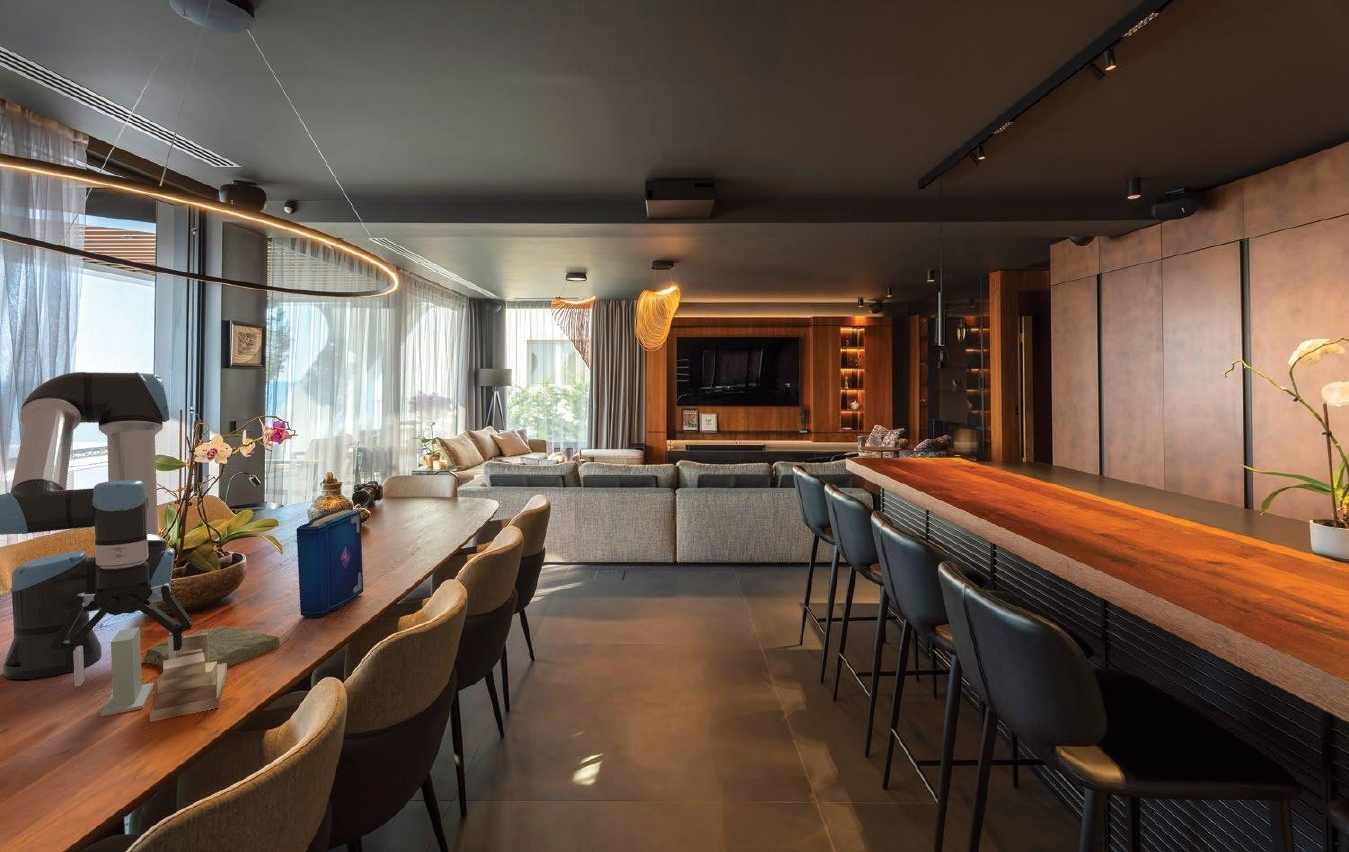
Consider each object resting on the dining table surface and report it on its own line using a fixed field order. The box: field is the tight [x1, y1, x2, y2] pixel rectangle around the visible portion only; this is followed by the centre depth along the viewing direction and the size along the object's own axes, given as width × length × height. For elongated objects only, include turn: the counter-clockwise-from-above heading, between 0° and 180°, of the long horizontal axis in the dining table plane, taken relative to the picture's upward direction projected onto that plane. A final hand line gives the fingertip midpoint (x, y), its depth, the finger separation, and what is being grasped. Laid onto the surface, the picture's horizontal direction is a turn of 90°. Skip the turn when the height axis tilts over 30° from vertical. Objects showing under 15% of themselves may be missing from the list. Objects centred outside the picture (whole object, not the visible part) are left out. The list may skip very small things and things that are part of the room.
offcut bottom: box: [153, 676, 217, 711], centre depth 120 cm, size 9×6×2 cm, turn 123°
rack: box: [149, 633, 228, 723], centre depth 125 cm, size 10×18×9 cm, turn 30°
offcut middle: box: [156, 661, 218, 693], centre depth 120 cm, size 8×5×2 cm, turn 115°
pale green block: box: [110, 627, 143, 707], centre depth 123 cm, size 3×7×12 cm, turn 30°
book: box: [296, 509, 364, 618], centre depth 177 cm, size 22×7×25 cm, turn 179°
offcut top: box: [162, 653, 205, 681], centre depth 119 cm, size 6×5×2 cm
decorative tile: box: [142, 625, 280, 668], centre depth 144 cm, size 19×20×4 cm
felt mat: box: [99, 682, 155, 718], centre depth 123 cm, size 6×11×1 cm, turn 31°
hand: (127, 675), depth 123 cm, fingers open, 13 cm apart
